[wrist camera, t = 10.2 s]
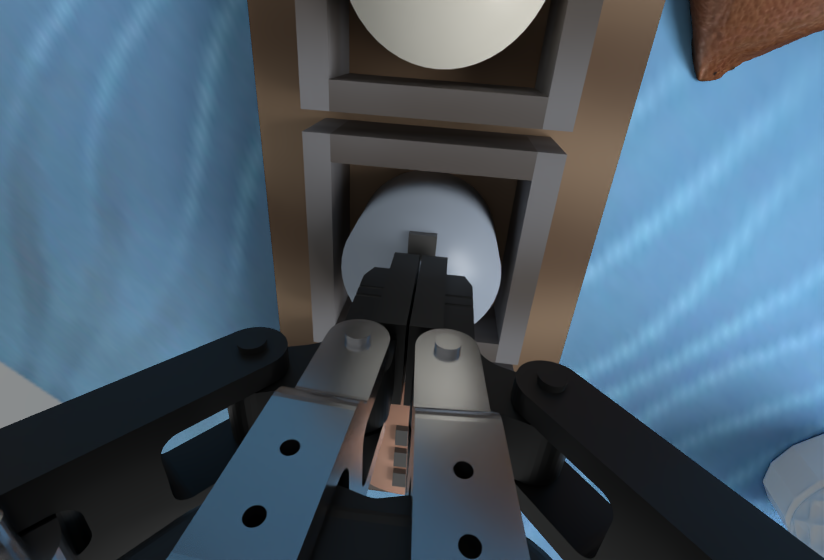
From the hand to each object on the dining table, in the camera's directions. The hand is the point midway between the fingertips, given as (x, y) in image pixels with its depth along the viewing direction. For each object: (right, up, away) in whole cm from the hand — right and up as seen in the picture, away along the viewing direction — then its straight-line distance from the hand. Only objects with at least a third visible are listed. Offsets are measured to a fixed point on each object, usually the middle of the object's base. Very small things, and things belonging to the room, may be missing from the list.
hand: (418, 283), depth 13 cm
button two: (0, +2, +3) cm, 4 cm away
